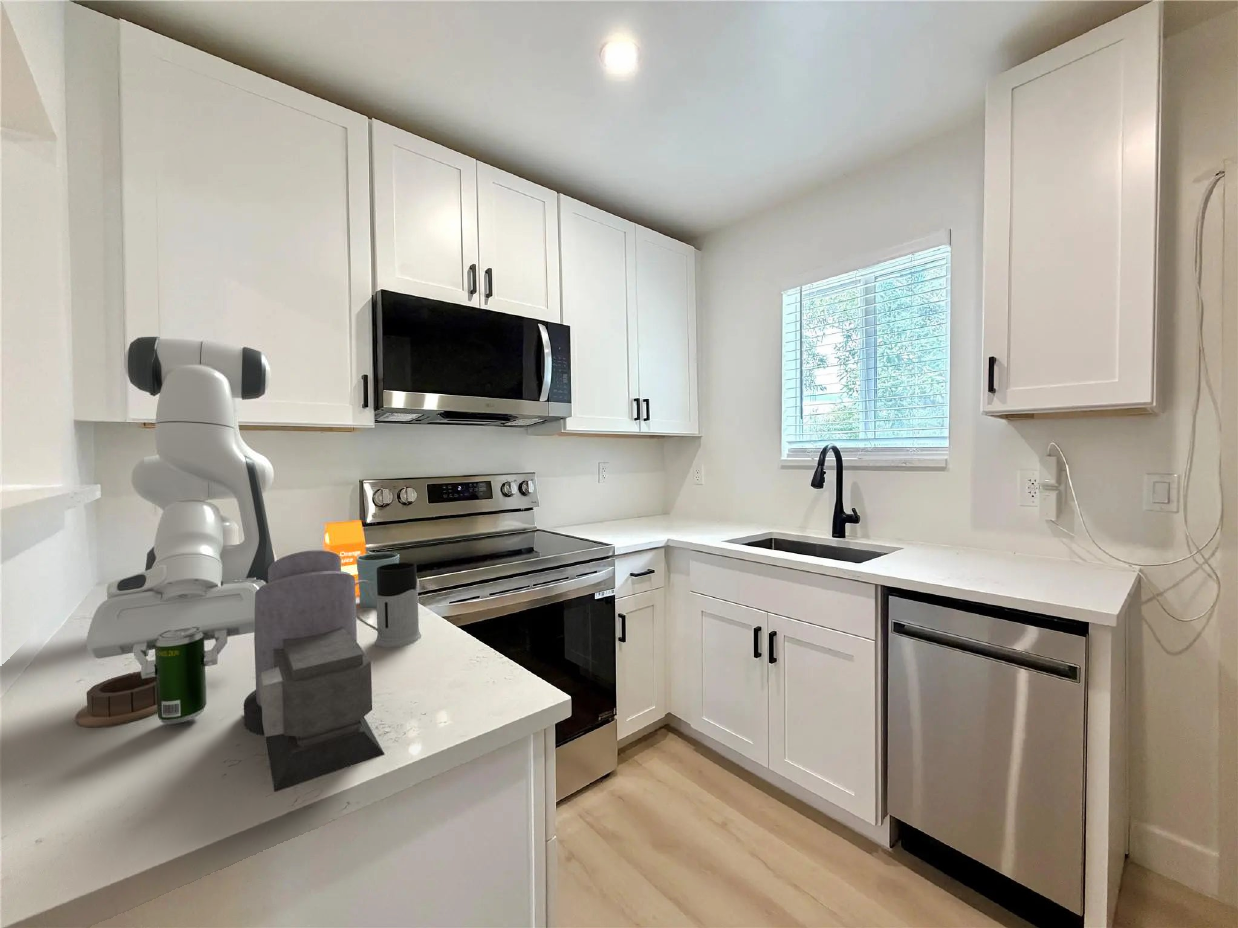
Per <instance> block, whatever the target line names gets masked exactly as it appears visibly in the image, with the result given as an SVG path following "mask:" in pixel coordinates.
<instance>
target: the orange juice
mask: <svg viewBox="0 0 1238 928" xmlns="http://www.w3.org/2000/svg"><path fill="white" fill-rule="evenodd" d="M324 530H325V531H324V538H323V550H326V551H331V552H334V553H336V554H338V555H339V556H340V558H341V571H344V572H348V573H350V574H351V575H353V576H354V577H355V582H357V581H358V571H357V563H356V558H357V557H358V556H361V555H365V554H367V553H366V548H367V547H366V539H365V533H364V529H363V524H362V519H357V520H348V521H347V520H346V521H345V520H344V521H335V522H326V523H325V529H324ZM355 591H356V597H359V596H358V595H359V585H358V584H357V585H356V586H355Z"/></svg>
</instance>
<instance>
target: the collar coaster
mask: <svg viewBox="0 0 1238 928" xmlns="http://www.w3.org/2000/svg"><path fill="white" fill-rule="evenodd" d="M156 714H157V690H156V676H154V677H149V678H143V679H142V676H141V670H140V671H133V672H129V673H125V674H122V675H118V676H115V677H112V678H109V679H106V680H104V681H102V682H99V683H97V684H95V685H92V687H90V688H89V689H88V690H87V691H86V706H83V707H82V708H81V709H80V710H79V711H77V712H76V714H75V721H76V725H77V726H79V727H83V728H104V727H103V726H106V727H112V726H117V725H123V724H127V723H131V722H135V721H138V720H141V719H145V718H147V717H151V716H153V715H156Z"/></svg>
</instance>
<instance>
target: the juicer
mask: <svg viewBox="0 0 1238 928" xmlns="http://www.w3.org/2000/svg"><path fill="white" fill-rule="evenodd" d="M356 612H357V596H356V591H355V577H354V576H353V575H351V574H350V573H348V572H344V571H341V558H340V556H339V555H338V554H336V553H334V552H331V551H326V550H324V549H314V550H313V549H311V550H303V551H299V552H295V553H291V554H288V555H285V556H282V557H281V558H277V561H275V562H274V563H273V564H272V565H271V566H270V567H269V569H268V583H267V584H265V585H263V586H261V587H260V588H259V589H258V590H257V591H256V593H255V629H254V637H253V638H254V639H253V641H254V642H253V645H254V667H255V689H254V690H253V691H252V692H251V693H249V694H248V695H247V696H246V697H245V699H244V701H243V722H244V725H243V726H244V728H245V729H246V730H247V731H248V732H250V733H251V734H254V735H260V736H264V737H265V742H266V747H267V755H268V759H269V766H270V773H271V778H272V780H271V781H272V785H273V790H274V793H277V792H279V791H283V790H285V789H287V788H291V787H293V786H297V785H299V784H302V783H306V782H309V781H311V780H314V779H317V778H320V777H324V776H326V775H329V774H332V773H334V772H337V771H340V770H343V769H346V768H350V767H352V766H354V765H355V766H356V765H358V764H361V763H365V762H366V761H370V760H373V759H376V758H379V757H382V756H384V755H385V752H384V750H383V749H382V746H381V745H380V742H379V741H378V740H377V737H376V736H375V734H374V732H373V730H372V729H371V726H370V725H369V723H368V721H367V719H366V716H367V715H368V714H369V713H370V712H371V711H373V691H372V690H373V686H372V660H371V659H370V658H369V656H368V655H367V653H365V651H364V650H363V648H362V647H361V646H360V644H359V643H358V637H357V631H358V630H357V628H358V627H357V618H356Z"/></svg>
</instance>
